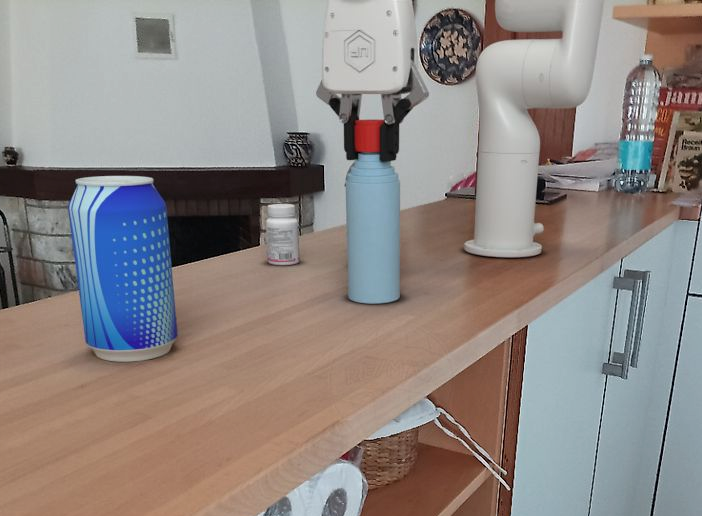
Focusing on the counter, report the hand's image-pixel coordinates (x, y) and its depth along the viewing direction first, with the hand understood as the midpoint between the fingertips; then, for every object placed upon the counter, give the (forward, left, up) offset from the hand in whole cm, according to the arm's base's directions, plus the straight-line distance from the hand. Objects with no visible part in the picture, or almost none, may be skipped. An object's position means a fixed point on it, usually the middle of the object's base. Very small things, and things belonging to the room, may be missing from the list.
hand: (371, 158), depth 90 cm
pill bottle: (-9, -25, -17) cm, 31 cm away
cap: (0, 0, +1) cm, 1 cm away
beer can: (+31, -3, -17) cm, 36 cm away
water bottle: (-1, 0, -16) cm, 16 cm away
